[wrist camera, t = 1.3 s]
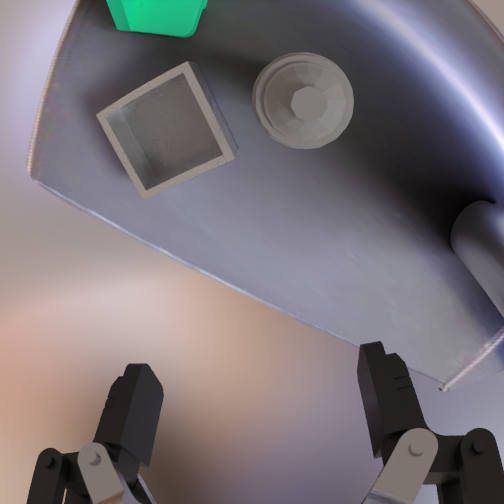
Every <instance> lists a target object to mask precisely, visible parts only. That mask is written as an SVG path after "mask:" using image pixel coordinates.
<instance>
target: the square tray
mask: <svg viewBox="0 0 504 504" xmlns="http://www.w3.org/2000/svg"><path fill="white" fill-rule="evenodd" d="M96 116H97V118H98V120H99V122H100V124H101V126H102V127H103V129H104V131H105V133H106V135H107V137H108V139H109V140H110V142H111V144H112V146H113V148H114V150H115V151H116V153H117V155H118V157H119V159H120V160H121V162H122V164H123V166H124V168H125V169H126V171H127V173H128V175H129V176H130V178H131V180H132V182H133V183H134V185H135V187H136V189H137V190H138V192H139V194H140V195H141V197H142V199H143V200H146V199H148V198H150V197H152V196H154V195H156V194H158V193H160V192H162V191H165V190H167V189H169V188H171V187H173V186H175V185H177V184H179V183H182V182H184V181H186V180H188V179H190V178H193V177H195V176H197V175H199V174H201V173H204V172H206V171H208V170H211V169H213V168H215V167H218V166H220V165H222V164H225V163H227V162H229V161H232V160H234V159H235V158H236V153H237V149H238V147H237V145H236V143H235V141H234V138H233V136H232V134H231V132H230V130H229V128H228V126H227V124H226V122H225V119H224V117H223V115H222V113H221V111H220V109H219V107H218V105H217V103H216V101H215V99H214V96H213V94H212V92H211V90H210V88H209V86H208V84H207V82H206V80H205V78H204V76H203V74H202V72H201V70H200V68H199V66H198V64H197V62H190V61H187V62H185V63H183V64H181V65H179V66H177V67H175V68H173V69H171V70H169V71H167V72H165V73H164V74H162V75H160V76H158V77H156V78H154V79H153V80H151V81H149V82H147V83H146V84H144V85H142V86H140V87H139V88H137V89H135V90H134V91H132V92H130V93H129V94H127V95H126V96H124V97H122V98H121V99H119V100H118V101H116V102H114V103H113V104H111V105H110V106H108V107H107V108H105V109H104V110H102V111H101V112H99V113H98V114H96Z"/></svg>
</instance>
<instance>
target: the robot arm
mask: <svg viewBox="0 0 504 504" xmlns="http://www.w3.org/2000/svg"><path fill="white" fill-rule="evenodd" d="M450 241H451V246H452V249H453V251H454V252H455V253H456V254H457V256H458V257H459V259H461V260H462V262H463V263H464V264H465V265H466V267H467V268H468V269H469V271H470V272H471V273H472V275H473V276H474V277H475V278H476V280H477V281H478V282H479V284H480V285H481V286H482V288H483V289H484V290H485V292H486V293H487V294H488V296H489V297H490V299H491V300H492V301H493V303H494V304H495V306H496V307H497V309H498V310H499V311H500V313H501V314H502V316H503V317H504V208H503V207H502V206H501V205H499V204H498V203H494V204H491V203H489V202H487V201H483V200H482V201H476V202H473V203H471V204H470V205H468V206H467V207H466V208H465V209H464V210H462V212H461V213H460V214H459V215H458V217H457V219H456V220H455V222H454V225H453V227H452V231H451V239H450ZM357 375H358V383H359V387H360V391H361V396H362V400H363V405H364V410H365V415H366V419H367V424H368V429H369V434H370V439H371V445H372V450H373V455H374V458H379V457H382V460H383V465H384V467H383V468H382V470H381V472H380V474H379V475H378V477H377V479H376V480H375V482H374V484H373V485H372V487H371V488H370V490H369V492H368V493H367V495H366V496H365V498H364V500H363V501H362V503H361V504H412V503H413V501H414V500H415V498H416V496H417V494H418V492H419V490H420V488H421V486H422V484H426V485H428V484H436V486H437V492H438V500H439V504H504V471H503V467H502V463H501V458H500V454H499V450H498V447H497V443H496V440H495V437H494V435H493V434H492V433H491V432H490V431H489V430H487V429H484V428H476V429H473V430H471V431H470V432H468V433H467V434H466V435H465V436H464V435H463V436H443V435H439V434H436V433H434V432H433V431H431V430H430V429H429V428H428V426H427V425H426V423H425V421H424V417H423V414H422V411H421V408H420V405H419V401H418V398H417V395H416V393H415V389H414V387H413V384H412V381H411V378H410V377H409V372H408V369H407V367H406V364H405V362H404V361H403V360H402V359H401V358H400V357H399V356H398V355H397V353H392V354H387V355H386V353H385V350H384V347H383V345H382V343H381V341H377V342H372V343H367V344H361V345H360V350H359V359H358V367H357ZM163 397H164V393H163V387H162V385H161V383H160V382H159V380H158V379H157V377H156V376H155V374H154V373H153V371H152V370H151V368H150V366H149V365H148V364H128V365H127V367H126V369H125V372H124V375H123V376H119V377H118V378H117V379H116V381H115V382H114V383H113V385H112V386H111V388H110V391H109V394H108V399H107V400H106V403H105V408H104V409H103V412H102V415H101V418H100V422H99V425H98V428H97V431H96V434H95V438H94V440H93V442H92V443H89V444H87V445H85V446H84V447H83V448H82V449H81V450H80V452H73V453H66V454H62V453H60V452H59V451H57V450H56V449H54V448H47V449H45V450H43V451H42V452H41V453H40V455H39V456H38V459H37V463H36V466H35V470H34V474H33V478H32V482H31V486H30V490H29V495H28V499H27V504H62V502H63V496H64V491H65V488H66V489H67V492H66V497H65V503H64V504H156V503H155V501H154V499H153V497H152V496H151V494H150V492H149V491H148V489H147V487H146V485H145V483H144V482H143V480H142V478H141V476H140V474H139V473H138V470H139V466H142V467H149V464H150V459H151V454H152V449H153V445H154V439H155V434H156V430H157V424H158V420H159V416H160V411H161V406H162V402H163Z"/></svg>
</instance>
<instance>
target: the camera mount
mask: <svg viewBox="0 0 504 504" xmlns="http://www.w3.org/2000/svg"><path fill="white" fill-rule="evenodd" d="M106 1H107V4H108V6H109V9H110V12H111V14H112V17H113V20H114V22H115V25H116V28H117V30H121V31H131V32H142V33H151V34H159V35H167V36H174V37H181V38H188V37H190V36H192V35H193V34H194V33H195V31H196V28H197V25H198V22H199V19H200V16H201V13H202V10H203V9H205V7H206V4H207V1H208V0H106Z"/></svg>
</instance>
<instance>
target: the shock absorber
mask: <svg viewBox="0 0 504 504" xmlns="http://www.w3.org/2000/svg"><path fill="white" fill-rule="evenodd" d="M353 106H354V98H353V90H352V87H351V85H350V83H349V81H348V79H347V77H346V75H345V74H344V72H343V71H342V70H341V69H340V68H339V67H338V66H337V65H336V64H335V63H333V62H332V61H330V60H328V59H327V58H325V57H323V56H320V55H317V54H313V53H309V52H299V53H289V54H285V55H283V56H280V57H278V58H276V59H274V60H273V61H272V62H271V63H269V64H268V65H267V66H266V67H265V68H264V69H263V70H262V71H261V73H260V74H259V76H258V77H257V79H256V81H255V84H254V87H253V93H252V108H253V111H254V114H255V116H256V119H257V121H258V123H259V126H260V127H261V128H262V129H263V130H264V131H265V132H266V133H267V134H268V135H269V136H270V137H271V138H272V139H273V140H275V141H276V142H278V143H280V144H282V145H285V146H287V147H289V148H296V149H313V148H320V147H322V146H324V145H326V144H328V143H330V142H331V141H333V140H335V139H337V137H338V136H339V135H340V134H341V133H342V132H343V131H344V130H345V129H346V127H347V125H348V123H349V121H350V119H351V117H352V113H353Z"/></svg>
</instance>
